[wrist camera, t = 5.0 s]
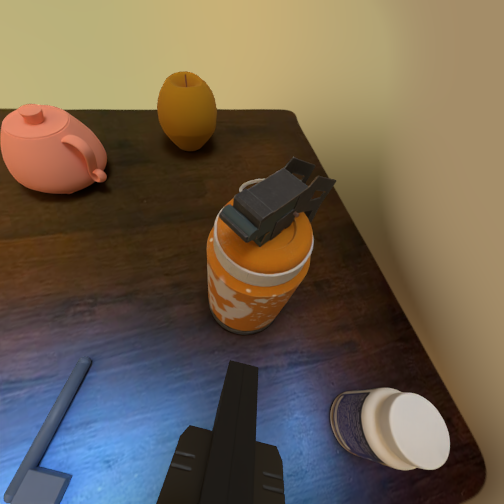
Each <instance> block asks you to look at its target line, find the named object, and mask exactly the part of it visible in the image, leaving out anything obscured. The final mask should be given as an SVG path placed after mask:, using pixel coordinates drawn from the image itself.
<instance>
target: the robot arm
mask: <svg viewBox="0 0 504 504" xmlns="http://www.w3.org/2000/svg"><path fill="white" fill-rule="evenodd" d="M257 389H258V367H254V366H250V365H246V364H243V363H239V362H235V361H231V360H230V362H229V366H228V370H227V373H226V377H225V381H224V385H223V389H222V392H221V396H220V400H219V404H218V408H217V413H216V417H215V422H214V426H213V430H212V431H210V430H207V429H203V428H199V427H195V426H191V425H189V427H188V428H187V429H186V430H185V431H184V432H183V434H182V435H181V436H180V438H179V441H178V444H177V447H176V450H175V453H174V455H173V458H172V461H171V464H170V466H169V469H168V472H167V475H166V478H165V481H164V483H163V486H162V489H161V492H160V495H159V497H158V500H157V503H156V504H285V494H284V480H283V464H282V459H281V457H280V454H279V452H278V449H277V447H276V446H273V445H269V444H265V443H261V442H257V441H256V416H257Z"/></svg>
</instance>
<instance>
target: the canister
mask: <svg viewBox="0 0 504 504" xmlns="http://www.w3.org/2000/svg"><path fill="white" fill-rule="evenodd" d="M315 166H316V165H314V164H311V163H308V162H305V161H302V160H299V159H296V158H294V157H293V158H292V159H291V160H290V161H289V162H288V163H287V165H286V166H285V167H284V168H282V169H281V170H279V171H278V172H276V173H274V174H273V175H271V176H269V177H268V178H266V179H255V180H251V181H248V182H246V183H244V184H243V185H242V186H241V187H240V189H239V191H240V193H238V194H236V195H235V197H234V199H232V200H231V201H229V202H228V203H227V204H226V205H225V206H224V207H223V208H222V209H221V211H220V212H219V214H218V216H217V218H216V220H215V225H214V227H213V229H212V230H211V232H210V235H209V237H208V241H207V271H208V300H209V308H210V311H211V313H212V315H213V317H214V319H215V320H216V321H217V322H218V323H219V324H220V325H221V326H222V327H223V328H225V329H226V330H228V331H230V332H233V333H236V334H242V335H249V334H254V333H257V332H260V331H262V330H264V329H265V328H267V327H268V326H269V325H270V324H271V323H272V322H273V320H274V319H275V318H276V316H277V315H278V314H279V312H280V311H281V309H282V308H283V307H284V305H285V304H286V302H287V301H288V300H289V298H290V297H291V295H292V294H293V293H294V291H295V290H296V288H297V287H298V286H299V284H300V283H301V281H302V280H303V279H304V277H305V275H306V273H307V271H308V268H309V265H310V254H311V252H312V249H313V242H314V240H313V232H312V228H311V222H312V219H313V218H314V216H315V214H316V212H317V210H318V208H319V206H320V204H321V203H322V201H323V200H324V198H325V197H326V195H327V194H328V193H329V191H330V190H331V188H332V187H333V185H334V184H335V182H336V180H334V179H330V178H325V177H321V176H317V177H316V178H315V179H314V181H313V182H312V183H311V184H310V185H309V186H307V185H306V184H305V183H306V181H307V179H308V178H309V176H310V174H311V173H312V171H313V169H314V167H315ZM292 173H296V174H299V175H303V178H302V179H301V180H299V179H298V178H296V177H295V176H294V175H293V174H292ZM257 182H259V183H258V184H256V185H254V186H253V187H251V188H249V189H248V190H247V189H245V190H243V188H244V187H246V186H247V185H249V184H252V183H257ZM242 190H243V191H242ZM315 190H318V191H324V192H323V194H322V195H321V196H320V197H319V198H316V199H311V198H312V196H313V194H314V192H315Z"/></svg>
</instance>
